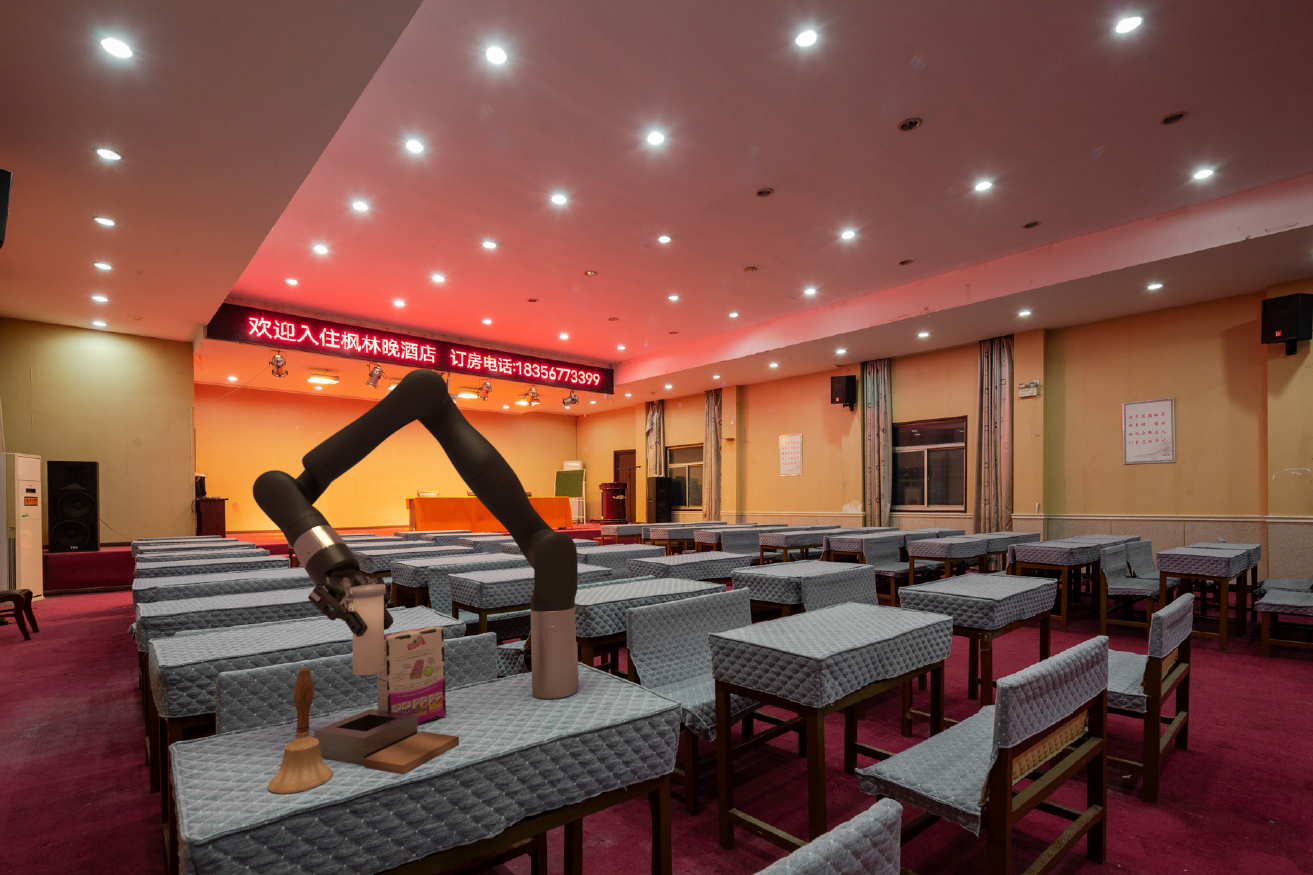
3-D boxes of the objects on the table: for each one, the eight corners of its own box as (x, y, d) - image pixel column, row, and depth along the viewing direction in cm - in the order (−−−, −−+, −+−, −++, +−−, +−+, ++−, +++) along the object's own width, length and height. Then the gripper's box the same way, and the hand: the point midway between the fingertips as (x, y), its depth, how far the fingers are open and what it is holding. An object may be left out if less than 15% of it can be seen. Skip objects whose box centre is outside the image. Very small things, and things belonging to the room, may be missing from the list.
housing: (369, 732, 111) (370, 708, 112) (417, 739, 107) (417, 714, 107) (314, 756, 101) (314, 730, 102) (364, 765, 97) (364, 738, 97)
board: (421, 738, 107) (421, 731, 107) (458, 743, 104) (458, 736, 104) (363, 766, 96) (363, 758, 96) (403, 773, 93) (403, 765, 93)
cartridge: (370, 665, 109) (369, 583, 110) (393, 667, 107) (392, 584, 108) (343, 674, 104) (343, 588, 105) (367, 676, 102) (366, 589, 103)
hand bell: (341, 766, 97) (342, 660, 98) (319, 791, 88) (321, 674, 90) (284, 771, 96) (286, 663, 97) (256, 796, 87) (259, 678, 89)
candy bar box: (433, 712, 121) (432, 624, 123) (446, 716, 118) (445, 626, 120) (375, 729, 113) (375, 635, 115) (388, 734, 110) (387, 637, 112)
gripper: (299, 545, 104) (352, 622, 98) (370, 538, 117) (420, 606, 111) (277, 577, 105) (327, 655, 100) (349, 567, 119) (398, 635, 113)
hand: (376, 629), depth 105 cm, fingers closed on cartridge, 4 cm apart
